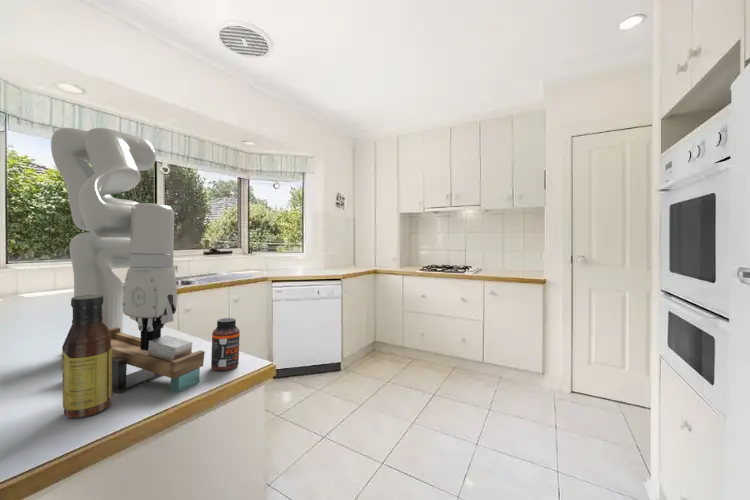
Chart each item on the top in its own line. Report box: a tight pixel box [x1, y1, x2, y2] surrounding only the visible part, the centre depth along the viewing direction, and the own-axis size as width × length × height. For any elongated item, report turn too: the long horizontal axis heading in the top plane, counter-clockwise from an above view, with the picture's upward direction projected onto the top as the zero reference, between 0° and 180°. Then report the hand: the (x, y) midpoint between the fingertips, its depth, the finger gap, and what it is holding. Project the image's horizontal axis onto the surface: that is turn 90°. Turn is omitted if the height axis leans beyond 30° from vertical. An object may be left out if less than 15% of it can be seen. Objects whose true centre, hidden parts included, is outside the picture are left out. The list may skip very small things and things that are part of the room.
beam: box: [109, 327, 206, 379], centre depth 67 cm, size 26×8×6 cm, turn 74°
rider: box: [148, 334, 193, 363], centre depth 65 cm, size 7×4×4 cm, turn 74°
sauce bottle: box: [61, 295, 113, 419], centre depth 53 cm, size 6×6×20 cm
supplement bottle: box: [210, 317, 241, 372], centre depth 74 cm, size 6×6×11 cm
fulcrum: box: [112, 357, 201, 394], centre depth 67 cm, size 26×13×6 cm, turn 74°
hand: (150, 348), depth 66 cm, fingers closed
